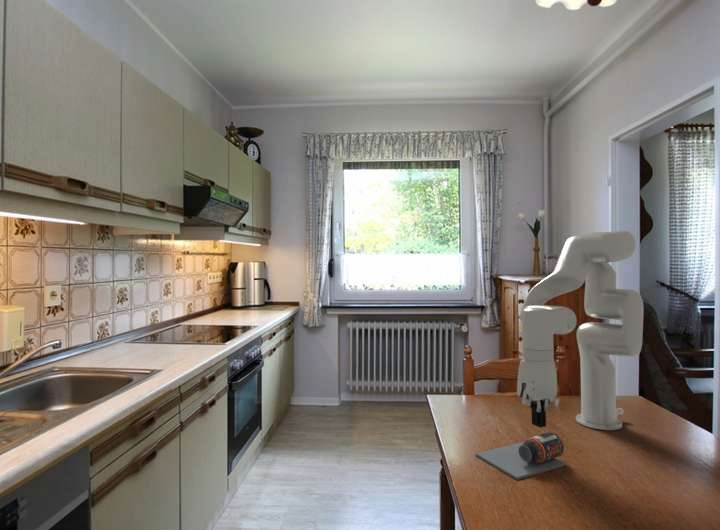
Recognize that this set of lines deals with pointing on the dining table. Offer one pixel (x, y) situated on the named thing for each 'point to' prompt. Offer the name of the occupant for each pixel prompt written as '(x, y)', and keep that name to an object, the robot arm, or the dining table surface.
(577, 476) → the dining table surface
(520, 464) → the mat
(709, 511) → the dining table surface
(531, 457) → the supplement bottle
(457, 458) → the dining table surface
